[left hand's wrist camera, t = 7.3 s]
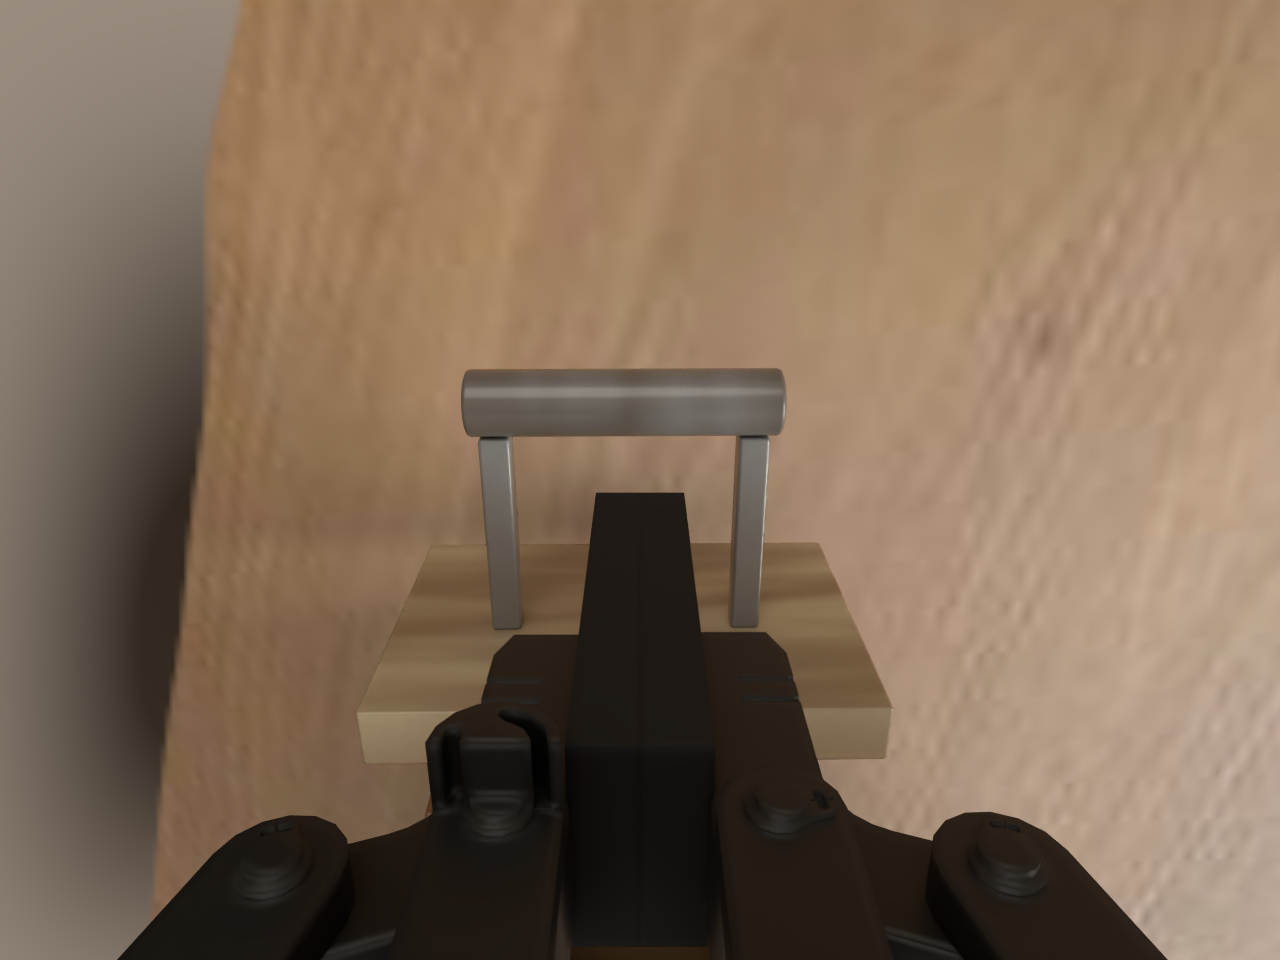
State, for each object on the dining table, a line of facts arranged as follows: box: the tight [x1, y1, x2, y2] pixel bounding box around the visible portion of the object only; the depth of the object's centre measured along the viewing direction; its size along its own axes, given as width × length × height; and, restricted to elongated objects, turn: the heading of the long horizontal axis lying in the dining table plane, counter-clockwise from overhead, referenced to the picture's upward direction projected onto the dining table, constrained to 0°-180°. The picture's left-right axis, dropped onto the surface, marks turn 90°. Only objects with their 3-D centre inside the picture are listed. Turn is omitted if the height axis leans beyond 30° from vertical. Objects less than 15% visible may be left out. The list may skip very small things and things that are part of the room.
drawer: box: [356, 368, 893, 960], centre depth 21 cm, size 21×10×7 cm, turn 0°
